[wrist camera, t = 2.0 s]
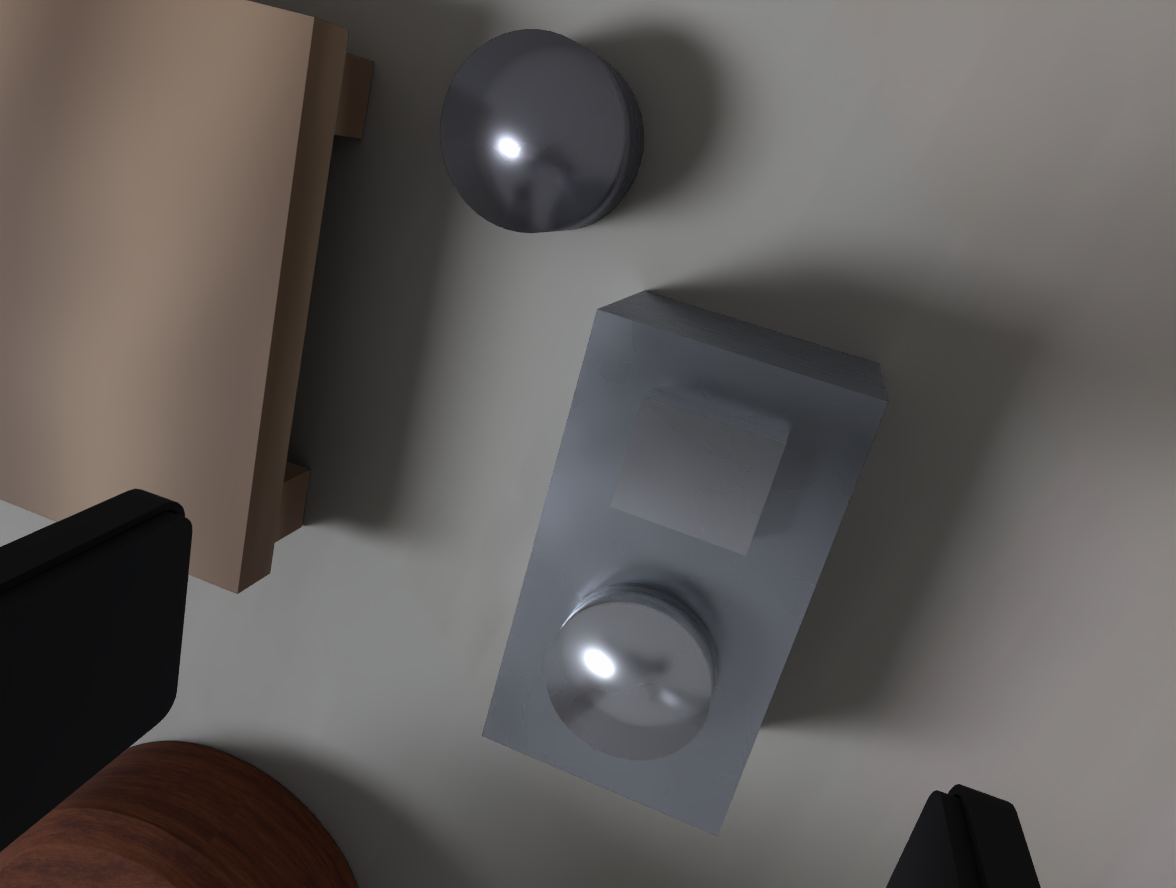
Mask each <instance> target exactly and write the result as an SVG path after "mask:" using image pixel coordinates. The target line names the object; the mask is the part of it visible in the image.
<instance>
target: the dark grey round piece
mask: <svg viewBox="0 0 1176 888" xmlns="http://www.w3.org/2000/svg"><path fill="white" fill-rule="evenodd" d="M440 139H441V149H442V154H443V158H444V162H445V165H446V168H447V171H448V174H449V176H450V178H451V180H452V182H453V184H454V186H455V188H456V189H457V191H458V192H459V194H460V196H461V197H462V198H463V199H464V200H465V202H466V203H467V204H468V205H469V206H470V207H471V208H472V209H473V210H474V211H475V212H476V213H477V214H479V215H480V216H482V217H483V218H484V219H486V220H487V221H489V222H491V223H493V224H495V225H497V226H499V227H502V228H505V229H508V230H512V231H516V232H524V233H537V232H551V231H565V230H573V229H578V228H582V227H585V226H587V225H590V224H592V223H594V222H596V221H598V220H600V219H602V218H603V217H604V216H606V215H607V214H609V213H610V212H611V211H612V210H613V209H614V208H615V207H616V206H617V205H618V204H619V203H620V202H621V201H622V200H623V198H624V197H625V196H626V194H627V193H628V191H629V190H630V188H631V186H632V184H633V182H634V180H635V178H636V176H637V173H638V170H639V167H640V164H641V159H642V154H643V145H644V131H643V122H642V116H641V112H640V109H639V106H638V103H637V100H636V98H635V96H634V94H633V92H632V90H631V88H630V87H629V85H628V84H627V82H626V81H625V79H624V78H623V77H622V76H621V74H620V73H619V72H618V71H617V70H616V69H615V68H614V67H612V66H611V65H610V64H609V63H607V62H606V61H605V60H603V59H602V58H600V57H599V56H597V55H595V54H594V53H592V52H591V51H589V50H588V49H586V48H584V47H583V46H581V45H580V44H578V43H577V42H575V41H573V40H571V39H569V38H567V37H565V36H563V35H560V34H557V33H554V32H551V31H545V30H539V29H525V30H518V31H512V32H509V33H506V34H502V35H500V36H498V37H496V38H494V39H492V40H490V41H488V42H487V43H485V44H484V45H482V46H481V47H479V48H478V49H477V50H476V51H475V52H474V53H473V54H471V55H470V57H469V58H468V59H467V60H466V61H465V62H464V63H463V64H462V66H461V67H460V69H459V70H458V72H457V73H456V75H455V77H454V79H453V81H452V82H451V84H450V86H449V89H448V92H447V94H446V97H445V101H444V105H443V109H442V115H441V123H440Z"/></svg>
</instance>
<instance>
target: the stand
mask: <svg viewBox="0 0 1176 888" xmlns="http://www.w3.org/2000/svg"><path fill="white" fill-rule="evenodd" d="M348 36H349V30H348V29H345V28H343V27H340V26H337V25H335V24H332V23H329V22H326V21H324V20H321V19H318V18H316V17H312V16H308V15H304V14H300V13H296V12H292V11H288V10H284V9H280V8H276V7H272V6H268V5H264V4H260V3H256V2H252V1H248V0H0V499H1V500H3V501H6V502H8V503H11V504H13V505H16V506H18V507H21V508H23V509H26V510H28V511H31V512H33V513H36V514H38V515H41V516H43V517H46V518H48V519H51V520H53V521H56V522H58V521H60V520H63V519H65V518H67V517H69V516H72V515H74V514H76V513H79V512H81V511H83V510H85V509H88V508H90V507H92V506H94V505H97V504H99V503H101V502H103V501H106V500H108V499H110V498H112V497H115V496H117V495H119V494H121V493H124V492H126V491H128V490H132V489H142V490H145V491H148V492H150V493H153V494H156V495H159V496H161V497H164V498H167V499H170V500H172V501H175V502H178V503H179V504H180V505H181V506H183V509H184V512H185V517H186V518H188V519H189V520H190V521H191V523H192V531H193V533H192V543H191V553H190V563H189V573H188V574H189V575H191V576H194V577H196V578H199V579H201V580H204V581H206V582H209V583H211V584H214V585H216V586H219V587H221V588H224V589H226V590H229V591H231V592H234V593H236V594H238V593H240V592H241V591H243V590H244V589H246V588H248V587H249V586H251V585H252V584H254V583H255V582H257V581H259V580H260V579H262V578H263V577H265V576H267V575H268V574H270V571H271V564H272V557H273V550H274V543H275V542H277V541H278V540H280V539H282V538H283V537H285V536H287V535H289V534H290V533H292V532H294V531H295V530H297V529H299V528H301V527H302V521H303V515H304V508H305V502H306V496H307V489H308V483H309V476H310V469H307V468H304V467H302V466H299V465H296V464H293V463H291V462H288V461H287V454H288V447H289V440H290V434H291V427H292V420H293V413H294V406H295V399H296V392H297V386H298V379H299V372H300V365H301V358H302V351H303V344H304V338H305V331H306V324H307V317H308V310H309V303H310V296H311V290H312V283H313V276H314V269H315V262H316V255H317V248H318V242H319V235H320V228H321V221H322V214H323V207H324V200H325V194H326V187H327V180H328V173H329V166H330V159H331V152H332V145H333V139H334V135H340V136H346V137H353V138H360V139H362V136H363V130H364V123H365V117H366V111H367V104H368V98H369V91H370V85H371V79H372V72H373V66H374V62H373V61H370V60H366V59H363V58H360V57H357V56H354V55H351V54H348V53H346V49H347V43H348Z"/></svg>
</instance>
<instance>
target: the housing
mask: <svg viewBox="0 0 1176 888" xmlns="http://www.w3.org/2000/svg"><path fill="white" fill-rule="evenodd" d="M887 404H888V398H887V394H886V390H885V386H884V382H883V377H882V373H881V369H880V365H879V363H875V362H872V361H869V360H866V359H863V358H859V357H856V356H853V355H850V354H846V353H843V352H840V351H837V350H834V349H830V348H827V347H824V346H821V345H818V344H814V343H811V342H808V341H805V340H801V339H798V338H795V337H792V336H789V335H785V334H782V333H779V332H776V331H773V330H769V329H766V328H763V327H760V326H756V325H753V324H750V323H747V322H744V321H740V320H737V319H734V318H731V317H728V316H724V315H721V314H718V313H715V312H711V311H708V310H705V309H702V308H699V307H695V306H692V305H689V304H686V303H683V302H679V301H676V300H673V299H670V298H667V297H663V296H660V295H657V294H654V293H650V292H647V291H642V292H639V293H637V294H634V295H632V296H629V297H627V298H624V299H622V300H619V301H617V302H614V303H612V304H609V305H607V306H604V307H602V308H599V309H597V312H596V316H595V319H594V323H593V327H592V330H591V334H590V338H589V342H588V345H587V349H586V353H585V356H584V360H583V364H582V367H581V371H580V375H579V379H578V382H577V386H576V390H575V393H574V397H573V401H572V404H571V408H570V412H569V416H568V419H567V423H566V427H565V430H564V434H563V438H562V441H561V445H560V449H559V453H558V456H557V460H556V464H555V467H554V471H553V475H552V478H551V482H550V486H549V490H548V493H547V497H546V501H545V504H544V508H543V512H542V515H541V519H540V523H539V526H538V530H537V534H536V538H535V541H534V545H533V549H532V552H531V556H530V560H529V563H528V567H527V571H526V575H525V578H524V582H523V586H522V589H521V593H520V597H519V600H518V604H517V608H516V612H515V615H514V619H513V623H512V626H511V630H510V634H509V637H508V641H507V645H506V649H505V652H504V656H503V660H502V663H501V667H500V671H499V674H498V678H497V682H496V685H495V689H494V693H493V697H492V700H491V704H490V708H489V711H488V715H487V719H486V722H485V726H484V730H483V734H482V736H484V737H486V738H488V739H491V740H493V741H495V742H498V743H500V744H502V745H505V746H507V747H509V748H512V749H514V750H516V751H519V752H521V753H523V754H526V755H528V756H530V757H533V758H535V759H537V760H540V761H542V762H544V763H547V764H549V765H551V766H554V767H556V768H558V769H561V770H563V771H566V772H568V773H570V774H573V775H575V776H577V777H580V778H582V779H584V780H587V781H589V782H591V783H594V784H596V785H598V786H601V787H603V788H605V789H608V790H610V791H612V792H615V793H617V794H619V795H622V796H624V797H626V798H629V799H631V800H633V801H636V802H638V803H640V804H643V805H645V806H647V807H650V808H652V809H654V810H657V811H659V812H662V813H664V814H666V815H669V816H671V817H673V818H676V819H678V820H680V821H683V822H685V823H687V824H690V825H692V826H694V827H697V828H699V829H701V830H704V831H706V832H708V833H711V834H713V835H715V836H717V835H718V833H719V830H720V828H721V825H722V823H723V820H724V818H725V815H726V813H727V810H728V808H729V805H730V802H731V800H732V797H733V795H734V792H735V790H736V787H737V785H738V782H739V780H740V777H741V775H742V772H743V769H744V767H745V764H746V762H747V759H748V757H749V754H750V752H751V749H752V747H753V744H754V742H755V739H756V737H757V734H758V731H759V729H760V726H761V724H762V721H763V719H764V716H765V714H766V711H767V709H768V706H769V704H770V701H771V699H772V696H773V693H774V691H775V688H776V686H777V683H778V681H779V678H780V676H781V673H782V671H783V668H784V666H785V663H786V660H787V658H788V655H789V653H790V650H791V648H792V645H793V643H794V640H795V638H796V635H797V633H798V630H799V628H800V625H801V622H802V620H803V617H804V615H805V612H806V610H807V607H808V605H809V602H810V600H811V597H812V595H813V592H814V589H815V587H816V584H817V582H818V579H819V577H820V574H821V572H822V569H823V567H824V564H825V562H826V559H827V557H828V554H829V551H830V549H831V546H832V544H833V541H834V539H835V536H836V534H837V531H838V529H839V526H840V524H841V521H842V518H843V516H844V513H845V511H846V508H847V506H848V503H849V501H850V498H851V496H852V493H853V491H854V488H855V486H856V483H857V480H858V478H859V475H860V473H861V470H862V468H863V465H864V463H865V460H866V458H867V455H868V453H869V450H870V447H871V445H872V442H873V440H874V437H875V435H876V432H877V430H878V427H879V425H880V422H881V420H882V417H883V415H884V412H885V409H886V407H887Z"/></svg>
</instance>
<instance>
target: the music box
mask: <svg viewBox="0 0 1176 888" xmlns="http://www.w3.org/2000/svg"><path fill="white" fill-rule="evenodd" d="M0 888H358V887H357V884H356V882H355V879H354V877H353V875H352V873H351V870H350V868H349V867H348V865H347V863H346V861H345V859H344V857H343V855H342V854H341V852H340V850H339V849H338V847H337V846H336V844H335V843H334V841H333V840H332V838H331V837H330V835H329V834H328V833H327V831H326V830H325V829H324V828H323V826H322V825H321V824H320V823H319V821H318V820H317V819H316V818H315V817H314V816H313V814H312V813H311V812H310V811H309V810H308V809H307V808H306V807H305V806H304V805H303V804H302V803H301V802H300V801H299V800H298V799H297V798H296V797H294V796H293V795H292V794H291V793H290V792H289V791H287V790H286V789H285V788H284V787H282V786H281V785H280V784H279V783H277V782H276V781H275V780H273V779H272V778H270V777H269V776H267V775H266V774H264V773H263V772H261V771H260V770H258V769H256V768H255V767H253V766H251V765H249V764H247V763H245V762H243V761H241V760H240V759H237V758H235V757H233V756H231V755H228V754H226V753H223V752H220V751H217V750H214V749H211V748H208V747H204V746H200V745H195V744H190V743H182V742H153V743H146V744H141V745H137V746H134V747H131V748H128V749H126V750H125V751H124V752H123V753H121V754H120V755H119V756H118V757H116V758H115V759H114V760H113V761H112V762H110V763H109V764H108V765H107V766H105V767H104V768H103V769H102V770H100V771H99V772H98V773H97V774H96V775H94V776H93V777H92V778H91V779H89V780H88V781H87V782H86V783H85V784H83V785H82V786H81V787H80V788H78V789H77V790H76V791H75V792H74V793H72V794H71V795H70V796H69V797H67V798H66V799H65V800H64V801H63V802H61V803H60V804H59V805H58V806H56V807H55V808H54V809H53V810H51V811H50V812H49V813H48V814H47V815H45V816H44V817H43V818H42V819H40V820H39V821H38V822H37V823H36V824H34V825H33V826H32V827H31V828H29V829H28V830H27V831H26V832H25V833H23V834H22V835H21V836H20V837H18V838H17V839H16V840H15V841H13V842H12V843H11V844H10V845H9V846H7V847H6V848H5V849H4V850H2V851H1V852H0Z"/></svg>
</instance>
